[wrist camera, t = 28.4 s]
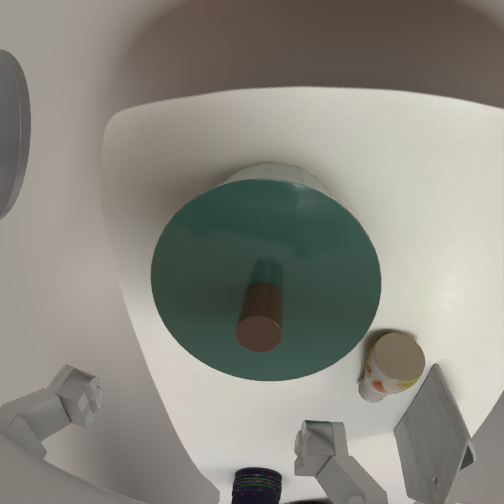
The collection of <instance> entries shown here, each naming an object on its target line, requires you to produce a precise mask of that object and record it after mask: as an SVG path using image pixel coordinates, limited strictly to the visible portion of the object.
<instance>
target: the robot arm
mask: <svg viewBox="0 0 504 504" xmlns="http://www.w3.org/2000/svg"><path fill="white" fill-rule="evenodd" d="M98 384H99V379H98V377H96V376H93V375H91V374H88V373H86V372H83V371H80V370H78V369H76V368H73V367H71V366H68V365H65V366H63V368H62V369H61V370H60V371H59V373H58V374H57V375H56V377H55V378H54V379H53V381H52V382H51V383H50V385H49V386H48V388H47V389H41V390H39V391H36V392H34V393H32V394H29V395H26V396H24V397H21V398H19V399H16V400H14V401H11V402H9V403H6V404H4V405H2V407H1V408H0V504H147V503H144V502H141V501H138V500H135V499H132V498H129V497H126V496H123V495H120V494H117V493H115V492H112V491H109V490H107V489H104V488H102V487H99V486H97V485H95V484H92V483H90V482H88V481H85V480H83V479H81V478H79V477H77V476H74V475H72V474H70V473H68V472H66V471H64V470H62V469H60V468H58V467H56V466H54V465H52V464H50V463H48V462H47V461H45V460H43V459H44V457H45V455H46V453H47V452H46V450H45V448H44V447H43V445H42V444H41V443H40V442H41V441H42V440H44V439H46V438H48V437H49V436H51V435H52V434H54V433H56V432H58V431H59V430H61V429H62V428H64V427H66V426H67V425H69V424H70V423H71V422H72V423H74V424H77V425H79V426H82V427H85V428H87V429H88V428H89V426H90V424H91V422H92V420H93V419H94V415H93V412H95V411H97V410H99V408H100V406H101V403H102V399H103V393H102V390H101V389H100V388H99V386H98ZM295 453H296V455H297V458H296V460H295V475H298V476H316V477H315V478H316V479H317V481H318V482H319V484H320V485H321V487H322V488H323V490H324V491H325V493H326V494H327V496H328V497H329V498H330V500H331V501H332V503H333V504H388V500H387V494H386V492H385V491H384V490H383V489H382V488H381V487H380V486H379V484H378V483H377V482H376V481H375V480H374V479H373V478H372V477H371V476H370V475H369V474H368V473H367V472H366V471H365V470H364V469H363V467H362V466H361V465H360V464H359V463H358V462H357V461H356V460H355V459H354V458H353V457H352V456H349V455H348V448H347V441H346V435H345V428H344V424H343V422H329V421H310V420H305V421H303V423H302V430H300V431H298V434H297V436H296V440H295ZM456 504H468V503H466V502H460V503H456Z"/></svg>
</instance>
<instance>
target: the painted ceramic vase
mask: <svg viewBox="0 0 504 504" xmlns="http://www.w3.org/2000/svg"><path fill="white" fill-rule="evenodd" d="M424 367H425V357H424V353H423V351H422V349H421V347H420V346H419V345H418V344H417V343H416V342H415V340H413V339H412V338H410V337H408V336H405V335H403V334H401V333H397V332H392V333H388V334H385V335H384V336H382V337H381V338H379V339H378V340H377V341H376V342H375V343H374V344H373V345H372V347H371V348H370V350H369V352H368V355H367V358H366V363H365V376H364V378H363V379H362V381H361V382H360V384H359V393H360V395H361V397H362V398H363V399H365V400H366V401H369V402H378V401H380V400H382V399H383V398H384V397H385V396H386V395H388V394H393V393H398V392H401V391H404V390H406V389H408V388H410V387H411V386H412V385H414V384H415V383H416V382H417V380H418V379H419V378H420V376H421V374H422V373H423V370H424Z"/></svg>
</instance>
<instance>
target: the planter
mask: <svg viewBox="0 0 504 504" xmlns="http://www.w3.org/2000/svg"><path fill="white" fill-rule="evenodd" d="M394 434H395V438H396V442H397V447H398V452H399V456H400V461H401V466H402V471H403V477H404V482H405V487H406V492H407V496H408V497H409V498H411V499H414V500H416V501H418V502H421V503H424V504H446V503H447V500H448V498H449V496H450V493H451V491H452V488H453V486H454V483H455V481H456V478H457V475H458V473H459V472H461V471H463V470H464V469H466V468H468V467H469V466H471V465H473V464H474V463H476V452H475V448H474V445H473V443H472V440H471V437H470V435H469V432H468V429H467V427H466V424H465V422H464V419H463V417H462V415H461V412H460V410H459V407H458V405H457V403H456V401H455V398H454V396H453V394H452V392H451V389H450V387H449V385H448V383H447V380H446V378H445V376H444V375H443V373H442V371H441V369H440V367H439V365H438V364H435V365H434V366H433V367H432V369H431V371H430V373H429V375H428V377H427V379H426V380H425V382H424V384H423V386H422V387H421V389H420V391H419V392H418V394H417V396H416V397H415V399H414V401H413V402H412V404H411V405H410V407H409V409H408V410H407V412H406V413H405V415H404V416H403V418H402V419H401V421H400V422H399V424H398V425H397V427H396V428H395V429H394ZM437 483H438V487H437Z"/></svg>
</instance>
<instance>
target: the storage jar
mask: <svg viewBox="0 0 504 504" xmlns="http://www.w3.org/2000/svg"><path fill="white" fill-rule="evenodd" d="M281 481H282V476H281V475H280V474H279V473H278V472H276V471H273V470H270V469H265V468H244V469H240V470H238V471H237V472H236V474H235V480H234V483H233V490H232V497H233V498H232V503H231V504H279V500H280V497H281V490H282V487H281Z"/></svg>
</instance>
